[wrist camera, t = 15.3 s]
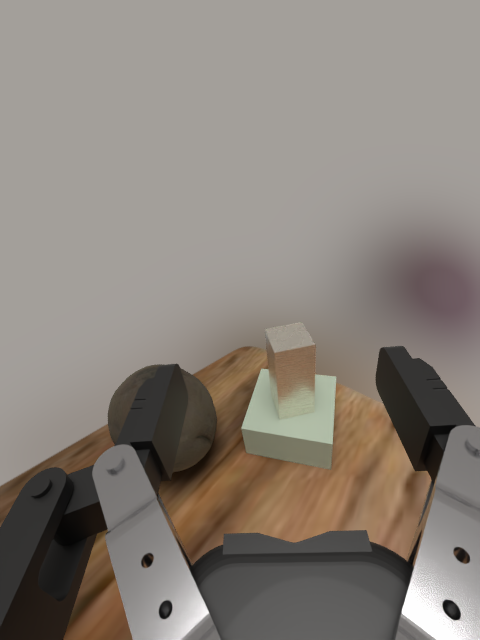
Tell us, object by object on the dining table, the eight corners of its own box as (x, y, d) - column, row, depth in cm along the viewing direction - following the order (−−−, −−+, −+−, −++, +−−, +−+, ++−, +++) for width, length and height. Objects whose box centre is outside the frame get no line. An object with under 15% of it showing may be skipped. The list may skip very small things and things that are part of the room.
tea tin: (279, 419, 42) (274, 352, 35) (270, 393, 46) (264, 329, 39) (314, 412, 42) (315, 344, 36) (302, 386, 46) (301, 322, 40)
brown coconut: (207, 401, 54) (188, 334, 46) (237, 469, 43) (219, 396, 34) (127, 434, 50) (91, 367, 42) (137, 518, 39) (90, 449, 31)
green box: (246, 454, 45) (241, 428, 41) (264, 393, 54) (261, 368, 51) (331, 470, 41) (332, 444, 38) (334, 402, 50) (336, 376, 47)
